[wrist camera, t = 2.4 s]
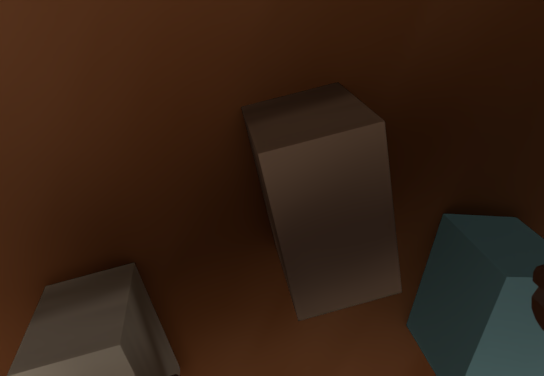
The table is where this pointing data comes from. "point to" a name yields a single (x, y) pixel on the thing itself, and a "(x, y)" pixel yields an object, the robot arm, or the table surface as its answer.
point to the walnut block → (327, 197)
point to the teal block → (480, 299)
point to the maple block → (96, 330)
